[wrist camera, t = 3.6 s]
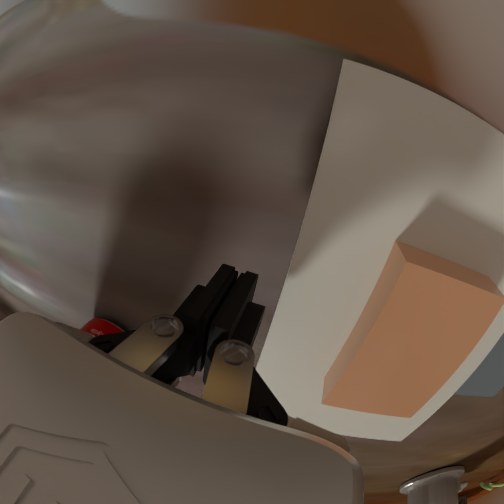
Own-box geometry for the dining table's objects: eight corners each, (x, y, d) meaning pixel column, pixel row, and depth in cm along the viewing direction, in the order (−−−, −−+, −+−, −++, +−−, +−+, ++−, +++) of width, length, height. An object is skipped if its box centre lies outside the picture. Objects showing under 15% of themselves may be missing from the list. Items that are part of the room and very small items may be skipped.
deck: (530, 175, 10) (567, 190, 6) (397, 406, 20) (400, 441, 16) (338, 78, 11) (343, 58, 8) (254, 373, 22) (240, 410, 18)
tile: (489, 277, 10) (506, 298, 8) (407, 393, 14) (410, 418, 12) (395, 240, 10) (406, 261, 9) (324, 377, 15) (321, 403, 13)
